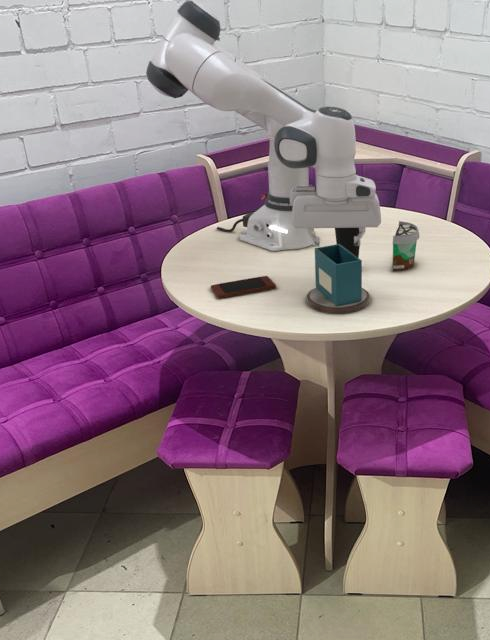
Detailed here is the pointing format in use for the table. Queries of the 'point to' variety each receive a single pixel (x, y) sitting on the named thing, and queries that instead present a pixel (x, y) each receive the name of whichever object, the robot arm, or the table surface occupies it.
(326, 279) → the bin
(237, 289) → the smartphone
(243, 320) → the table surface
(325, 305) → the disc
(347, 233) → the drinking cup
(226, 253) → the table surface
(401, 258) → the food container
